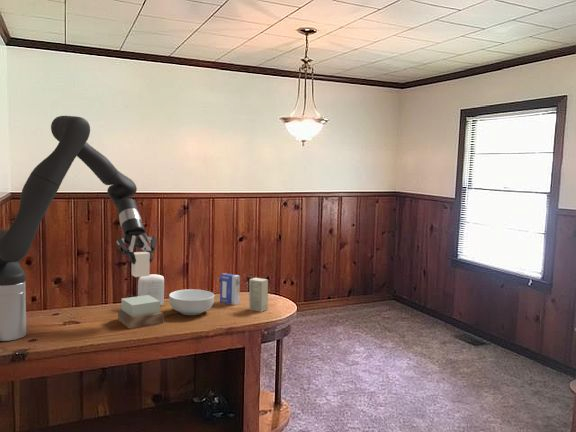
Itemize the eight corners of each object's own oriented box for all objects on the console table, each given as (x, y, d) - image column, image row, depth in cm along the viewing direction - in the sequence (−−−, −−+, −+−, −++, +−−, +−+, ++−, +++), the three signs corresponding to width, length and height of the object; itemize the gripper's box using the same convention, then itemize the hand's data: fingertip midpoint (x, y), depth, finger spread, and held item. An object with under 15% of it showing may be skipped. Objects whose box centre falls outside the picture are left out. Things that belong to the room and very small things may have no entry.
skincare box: (267, 309, 192) (268, 279, 191) (261, 312, 188) (262, 281, 187) (254, 306, 195) (255, 277, 194) (248, 309, 192) (249, 278, 190)
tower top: (132, 316, 165) (132, 305, 165) (121, 309, 173) (121, 298, 173) (160, 312, 172) (160, 301, 171) (148, 305, 179) (148, 294, 179)
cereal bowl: (198, 321, 174) (198, 302, 174) (159, 315, 180) (159, 296, 180) (222, 309, 190) (222, 292, 189) (185, 304, 196) (185, 286, 195)
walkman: (219, 302, 201) (220, 273, 200) (223, 300, 203) (224, 272, 202) (235, 305, 197) (236, 275, 196) (239, 303, 199) (240, 274, 198)
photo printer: (161, 302, 197) (162, 272, 196) (165, 305, 193) (165, 274, 192) (136, 305, 191) (136, 274, 190) (139, 308, 188) (139, 276, 186)
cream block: (135, 277, 168) (135, 254, 167) (131, 274, 171) (131, 252, 171) (149, 275, 171) (149, 253, 170) (145, 273, 174) (145, 251, 174)
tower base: (128, 329, 164) (129, 318, 164) (118, 320, 174) (118, 309, 173) (163, 324, 171) (163, 313, 171) (151, 315, 181) (151, 304, 180)
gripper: (113, 218, 171) (124, 257, 163) (153, 216, 180) (165, 254, 171) (109, 231, 176) (119, 270, 167) (148, 229, 184) (159, 266, 176)
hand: (142, 262), depth 169 cm, fingers closed on cream block, 5 cm apart
